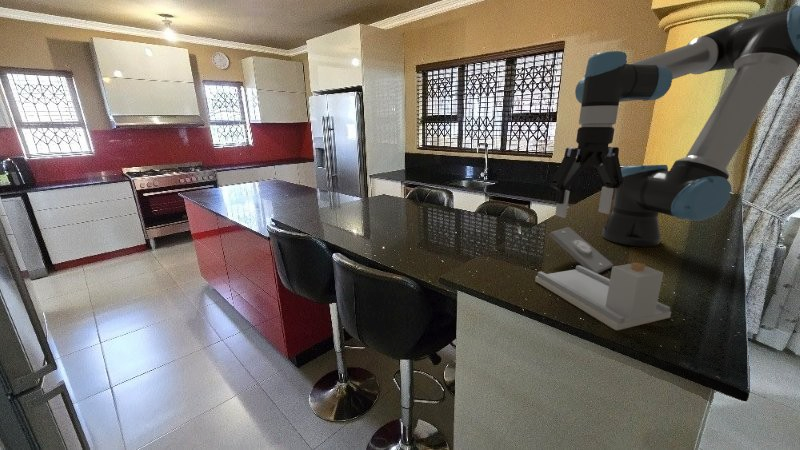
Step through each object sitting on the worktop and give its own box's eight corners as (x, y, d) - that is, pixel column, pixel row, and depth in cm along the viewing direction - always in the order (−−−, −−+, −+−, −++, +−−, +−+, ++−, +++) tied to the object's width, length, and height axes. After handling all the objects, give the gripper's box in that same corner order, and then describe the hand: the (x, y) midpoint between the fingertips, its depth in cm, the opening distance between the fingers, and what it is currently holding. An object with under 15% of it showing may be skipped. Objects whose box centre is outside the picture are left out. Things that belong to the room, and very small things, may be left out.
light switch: (598, 270, 80) (552, 229, 88) (583, 285, 83) (540, 245, 92) (616, 262, 84) (570, 224, 92) (601, 277, 88) (558, 239, 96)
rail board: (580, 273, 82) (585, 232, 79) (670, 317, 63) (682, 265, 60) (535, 281, 78) (539, 238, 75) (616, 330, 59) (626, 276, 56)
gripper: (622, 126, 86) (608, 208, 92) (540, 125, 79) (530, 214, 84) (651, 126, 79) (634, 214, 85) (565, 125, 72) (552, 222, 77)
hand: (582, 214), depth 85 cm, fingers open, 13 cm apart
